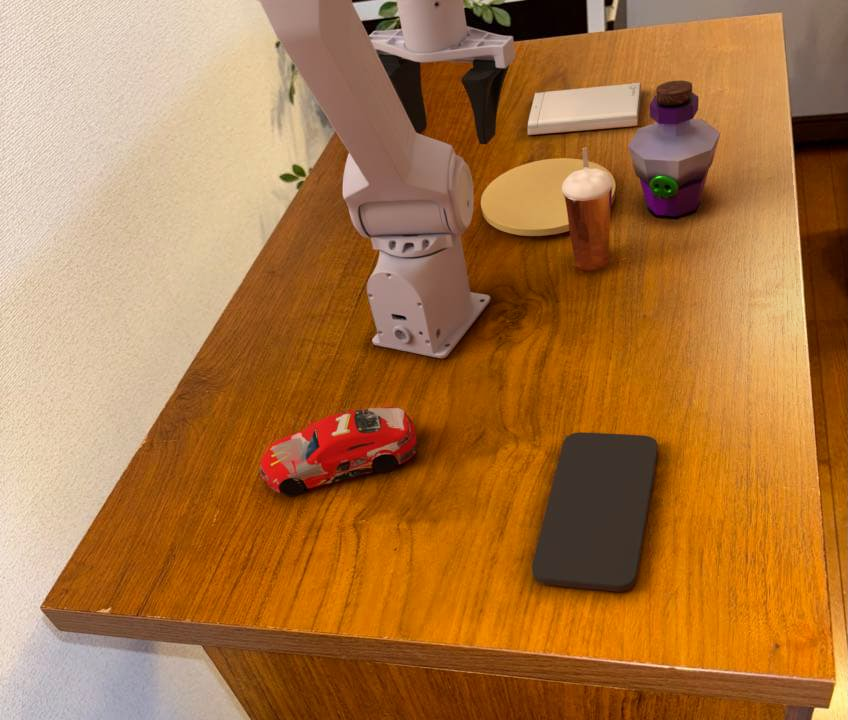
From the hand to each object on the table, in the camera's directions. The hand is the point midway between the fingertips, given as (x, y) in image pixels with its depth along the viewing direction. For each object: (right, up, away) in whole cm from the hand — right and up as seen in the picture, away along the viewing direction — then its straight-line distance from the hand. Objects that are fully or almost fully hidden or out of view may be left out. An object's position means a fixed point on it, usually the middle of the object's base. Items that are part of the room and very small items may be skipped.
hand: (452, 135), depth 95 cm
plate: (+10, -4, +8) cm, 14 cm away
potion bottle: (+22, -5, +4) cm, 23 cm away
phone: (+10, -37, -22) cm, 44 cm away
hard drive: (+16, +10, +20) cm, 28 cm away
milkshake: (+14, -12, 0) cm, 18 cm away
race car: (-10, -33, -13) cm, 36 cm away
